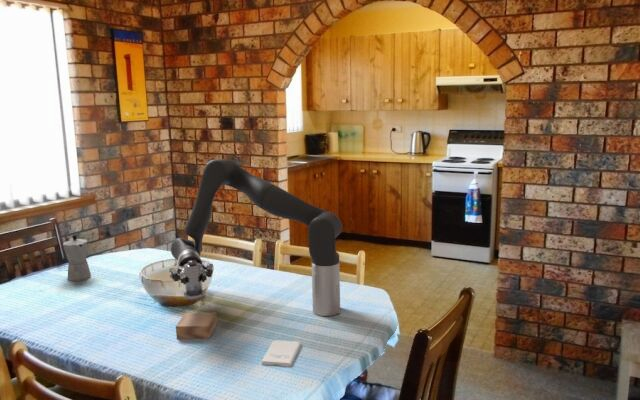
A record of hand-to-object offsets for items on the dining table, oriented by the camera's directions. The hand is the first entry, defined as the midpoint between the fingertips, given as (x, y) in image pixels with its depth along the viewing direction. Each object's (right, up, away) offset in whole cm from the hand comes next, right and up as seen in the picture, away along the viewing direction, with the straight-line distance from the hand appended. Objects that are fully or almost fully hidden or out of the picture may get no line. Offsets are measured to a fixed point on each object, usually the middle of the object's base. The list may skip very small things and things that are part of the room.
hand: (194, 280), depth 159 cm
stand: (0, -17, +6) cm, 18 cm away
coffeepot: (-62, -8, +58) cm, 85 cm away
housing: (-1, -5, +4) cm, 7 cm away
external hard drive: (+27, -20, -9) cm, 35 cm away
